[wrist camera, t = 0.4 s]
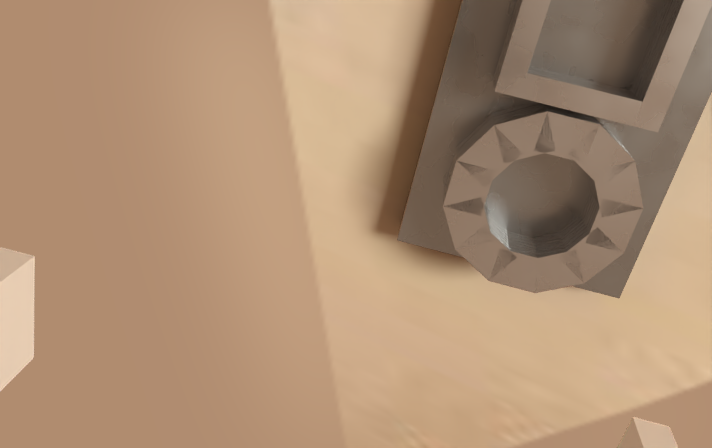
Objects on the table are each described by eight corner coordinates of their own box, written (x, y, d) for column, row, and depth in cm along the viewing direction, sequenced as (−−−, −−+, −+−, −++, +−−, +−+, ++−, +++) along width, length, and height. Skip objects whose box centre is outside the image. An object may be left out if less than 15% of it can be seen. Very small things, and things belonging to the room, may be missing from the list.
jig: (487, -97, 33) (491, -102, 29) (749, -35, 32) (792, -31, 28) (400, 226, 40) (393, 259, 36) (611, 282, 40) (629, 322, 36)
